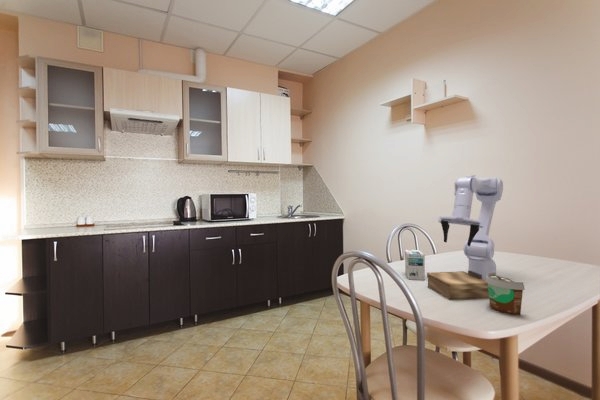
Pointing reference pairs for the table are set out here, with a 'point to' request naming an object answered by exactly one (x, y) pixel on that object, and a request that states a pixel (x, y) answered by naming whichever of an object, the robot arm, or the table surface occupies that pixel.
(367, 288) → the table surface
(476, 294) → the mailer box
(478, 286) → the mailer lid
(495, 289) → the food container
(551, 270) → the table surface
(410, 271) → the light bulb box
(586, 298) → the table surface
